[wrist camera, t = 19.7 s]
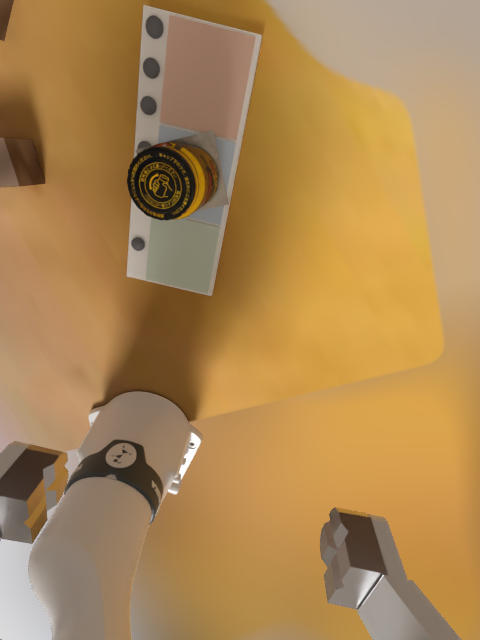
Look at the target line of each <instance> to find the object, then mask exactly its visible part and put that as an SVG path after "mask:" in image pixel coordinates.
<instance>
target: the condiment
mask: <svg viewBox="0 0 480 640" xmlns="http://www.w3.org/2000/svg"><path fill="white" fill-rule="evenodd" d="M136 153H137V156H136V157H135V158H134V159H133V161H132V163H131V164H130V169H129V170H128V177H127V184H128V190H129V192H130V196H131V198H132V200H133V202H134V203H135V205H136V206H137V207H138V208H139V209H140V210H141V211H142V212H143V213H144V214H145V215H146V216H149V217H152V218H154V219H158V220H166V221H168V220H171V219H172V220H178V219H182V218H185V217H188V216H189V215H191V214H192V213H194V212H196V211H200V210H205V209H209V208H214V207H219V206H223V205H228V204H229V201H228V197H227V192H226V187H225V182H224V178H223V173H222V168H221V164H220V159H219V155H218V150H217V146H216V141H215V137H214V132H213V130H211V131H207V132H203V133H200V134H196V135H192V136H188V137H184V138H180V139H176V140H172V141H168V142H164V143H159V144H156V145H152V146H148V147H144V148H141V149H137V150H136Z"/></svg>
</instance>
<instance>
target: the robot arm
mask: <svg viewBox="0 0 480 640" xmlns="http://www.w3.org/2000/svg"><path fill="white" fill-rule="evenodd" d="M88 417H89V422H90V426H91V427H90V429H89V431H88V432H87V434H86V436H85V438H84V439H83V441H82V443H81V445H80V447H79V448H78V451H77V455H78V460H79V463H80V464H79V465H78V467H77V468H76V469H75V471H74V472H73V474H72V475H71V477H70V480H69V482H68V470H67V469H66V468H65V464H66V463H67V461H68V458H67V457H68V456H67V453H66V452H62V451H57V450H53V449H48V448H44V447H40V446H35V445H31V444H27V443H22V442H17V441H14V442H13V443H11V444H9V445H8V446H7V447H6V448H5V449H4V450H3V451H2V452H1V453H0V538H1V539H7V540H13V541H19V542H25V543H31V544H32V543H33V542H34V540H35V539H36V537H37V536H38V534H39V532H40V531H41V529H42V527H43V526H44V524H45V523H46V521H47V510H49V509H51V508H52V507H54V506H55V505H57V503H58V502H59V500H60V498H61V497H62V495H63V492H64V490H65V492H64V497H63V498H62V500H61V502H60V503H59V505H58V507H57V508H56V510H55V511H54V513H53V515H52V516H51V518H50V520H49V521H48V523H47V525H46V526H45V528H44V529H43V531H42V533H41V534H40V536H39V538H38V539H37V541H36V542H35V544H34V546H33V549H32V551H31V554H30V559H29V566H28V567H29V568H28V572H29V579H30V583H31V586H32V589H33V592H34V593H35V595H36V597H37V599H38V600H39V602H40V603H41V605H42V606H43V607H44V609H45V611H46V612H47V615H48V617H49V620H50V623H51V630H52V640H132V638H131V628H130V627H131V626H130V602H131V591H132V585H133V581H134V576H135V572H136V568H137V564H138V560H139V557H140V553H141V549H142V546H143V542H144V539H145V536H146V533H147V529H148V526H149V525H150V524H151V523H152V522H153V520H154V518H155V515H156V514H157V512H158V509H159V507H160V504H161V502H162V500H163V499H164V497H165V495H166V493H167V492H169V493H172V494H175V495H176V494H177V493H178V490H179V488H180V485H181V479H182V477H183V475H184V473H185V472H186V470H187V468H188V466H189V464H190V462H191V460H192V458H193V457H194V455H195V453H196V451H197V449H198V447H199V445H200V444H201V441H202V439H203V436H202V434H201V433H200V432H199V431H198V430H197V429H196V428H194V427H193V426H192V425H190V423H189V422H188V420H187V418H186V416H185V415H184V413H183V412H182V411H181V410H180V409H179V408H178V407H177V406H176V405H175V404H174V403H172V402H171V401H169V400H168V399H166V398H164V397H162V396H159V395H156V394H153V393H149V392H141V391H134V392H127V393H123V394H121V395H118V396H116V397H115V398H113V399H112V400H111V401H110V402H109V403H108V404H106V405H104V406H101V407H97V408H94V409H92V410H91V412H90V414H89V416H88ZM67 482H68V484H67ZM66 485H67V486H66ZM329 515H330V521H329V522H327V523H325V524H324V526H323V528H322V531H321V537H320V551H321V558H322V560H323V561H324V563H325V564H326V566H327V567H328V568H327V570H326V572H325V574H324V580H325V587H326V594H327V600H328V603H331V604H335V605H340V606H344V607H348V608H352V609H357V610H358V611H357V612H358V614H359V616H360V618H361V619H362V621H363V623H364V625H365V626H366V628H367V630H368V632H369V634H370V635H371V637H372V639H373V640H461V639H460V637H459V636H458V635H457V634H456V633H455V631H454V630H453V629H452V628H451V627H450V625H449V624H448V623H447V622H446V620H445V619H444V618H443V617H442V616H441V614H440V613H439V612H438V611H437V610H436V608H435V607H434V606H433V605H432V603H431V602H430V601H429V600H428V599H427V597H426V596H425V595H424V594H423V593H422V591H421V590H420V589H419V588H418V587H417V585H416V584H415V583H414V582H413V581H412V580H408V579H407V576H406V574H405V571H404V568H403V565H402V562H401V559H400V557H399V553H398V550H397V548H396V545H395V542H394V539H393V536H392V533H391V531H390V528H389V525H388V522H387V521H386V519H385V518H384V517H381V516H375V515H370V514H366V513H363V512H357V511H352V510H347V509H341V508H336V507H335V508H333V509H332V510H331V512H330V514H329ZM0 640H1V639H0Z"/></svg>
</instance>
